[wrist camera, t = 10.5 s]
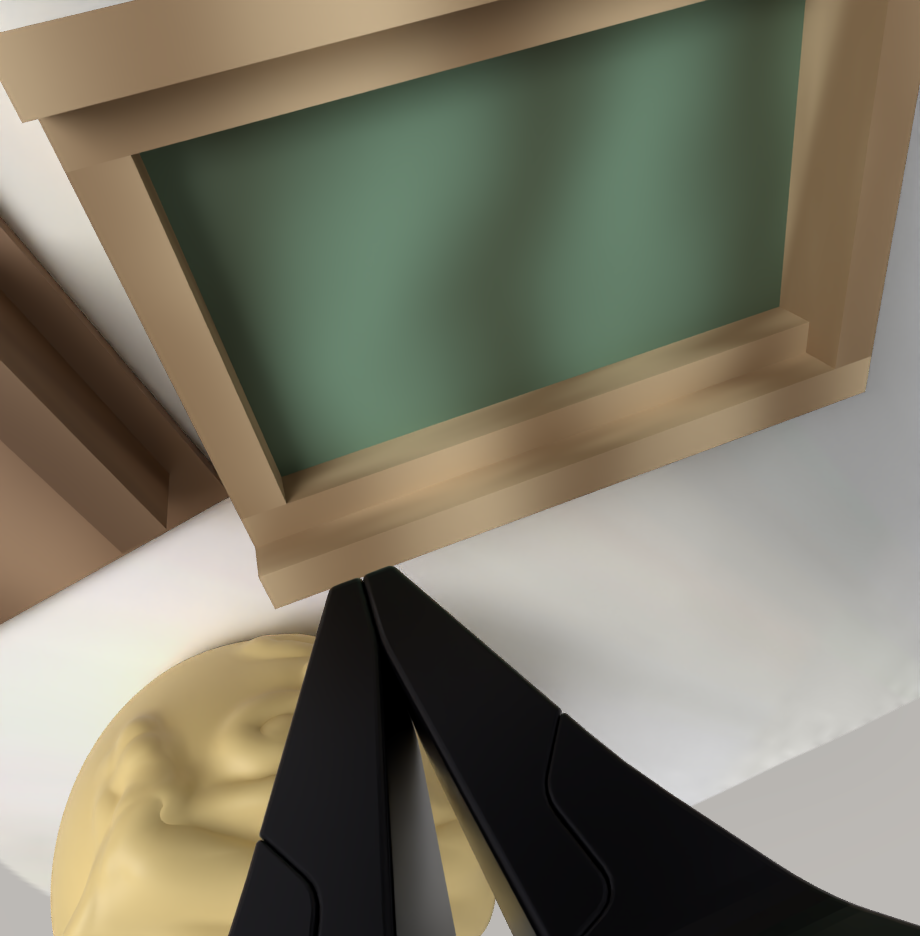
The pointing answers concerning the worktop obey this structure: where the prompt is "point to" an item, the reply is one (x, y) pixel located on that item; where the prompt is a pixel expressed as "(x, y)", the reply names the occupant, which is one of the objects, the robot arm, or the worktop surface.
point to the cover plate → (78, 444)
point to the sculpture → (202, 801)
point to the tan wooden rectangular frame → (479, 238)
